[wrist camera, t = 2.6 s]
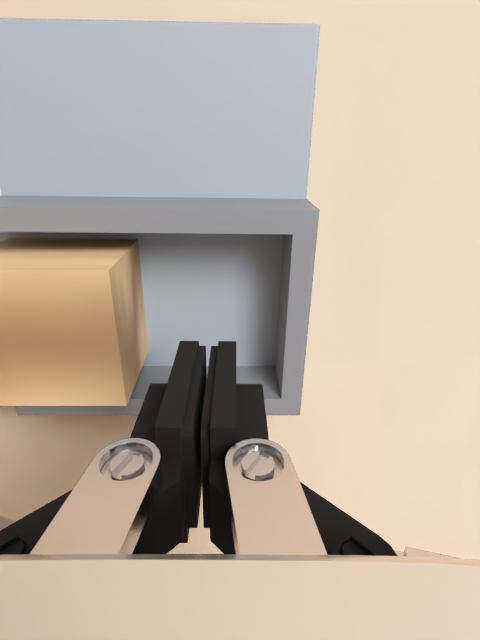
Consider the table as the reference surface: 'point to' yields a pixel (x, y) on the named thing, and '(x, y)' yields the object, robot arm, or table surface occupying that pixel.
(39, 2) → the table surface
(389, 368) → the table surface
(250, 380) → the grey sorting tray
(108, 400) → the block
